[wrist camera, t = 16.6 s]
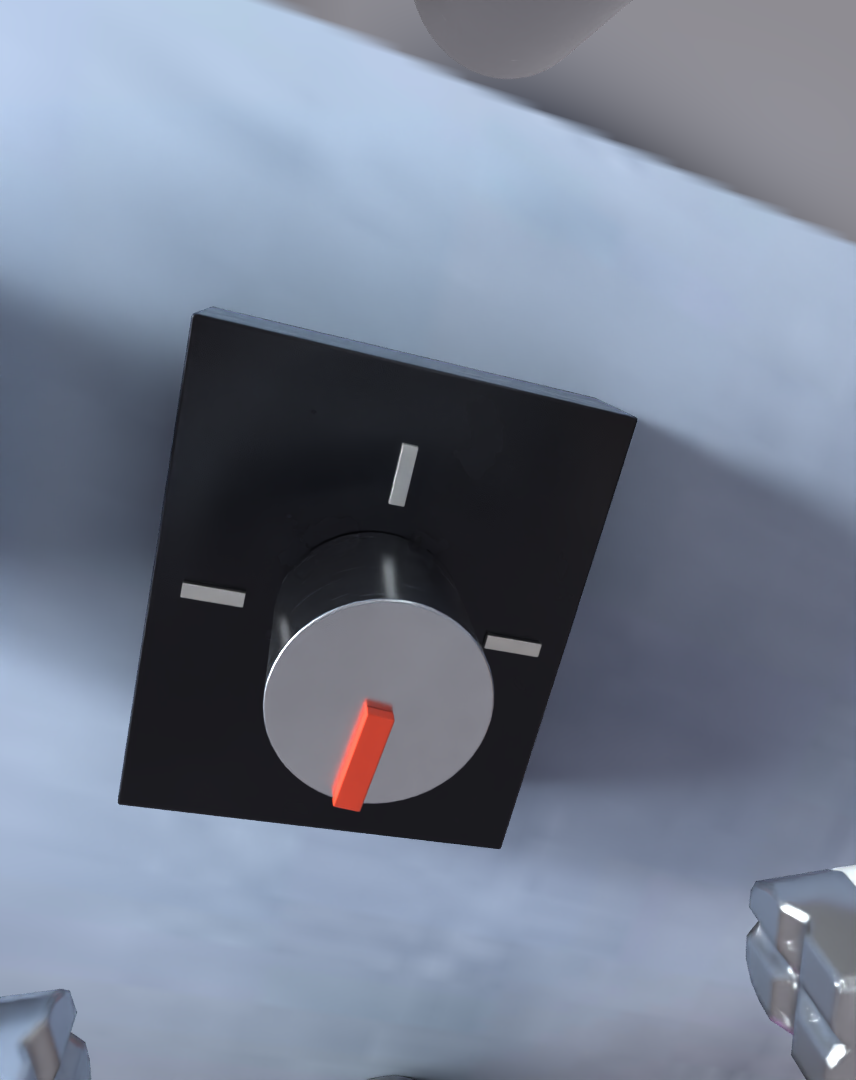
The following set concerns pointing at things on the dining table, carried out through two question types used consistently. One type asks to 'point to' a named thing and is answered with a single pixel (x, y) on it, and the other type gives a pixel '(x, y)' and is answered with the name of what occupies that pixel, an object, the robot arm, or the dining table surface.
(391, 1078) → the bowl
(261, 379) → the black dial plate
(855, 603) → the dining table surface
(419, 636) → the silver dial knob
